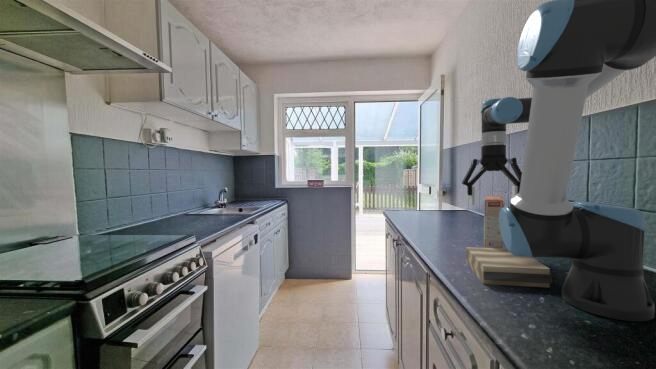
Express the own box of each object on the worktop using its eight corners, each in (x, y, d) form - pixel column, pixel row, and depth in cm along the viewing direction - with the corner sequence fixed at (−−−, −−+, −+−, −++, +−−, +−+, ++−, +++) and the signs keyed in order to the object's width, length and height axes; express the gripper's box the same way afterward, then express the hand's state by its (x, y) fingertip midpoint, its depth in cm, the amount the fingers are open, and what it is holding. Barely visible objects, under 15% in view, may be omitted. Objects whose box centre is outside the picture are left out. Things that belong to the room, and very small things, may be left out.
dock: (551, 289, 75) (552, 270, 74) (484, 285, 78) (484, 267, 78) (518, 263, 94) (519, 248, 94) (466, 261, 98) (466, 247, 97)
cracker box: (504, 262, 96) (504, 200, 95) (483, 260, 99) (483, 199, 98) (502, 251, 108) (502, 196, 107) (484, 249, 111) (484, 195, 110)
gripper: (528, 143, 102) (527, 202, 104) (453, 146, 108) (453, 203, 109) (539, 142, 95) (537, 205, 96) (457, 145, 100) (457, 205, 102)
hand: (493, 204), depth 103 cm, fingers open, 13 cm apart
